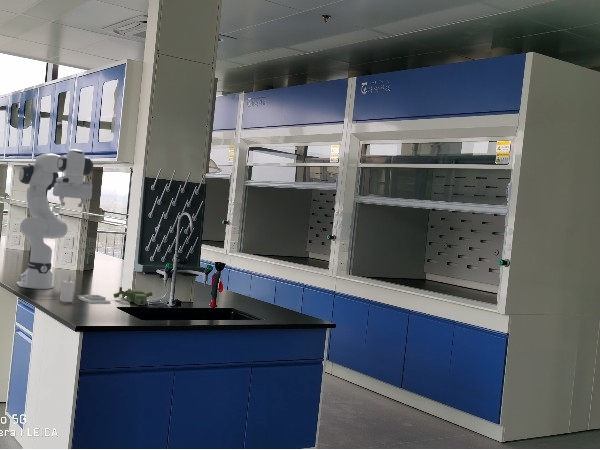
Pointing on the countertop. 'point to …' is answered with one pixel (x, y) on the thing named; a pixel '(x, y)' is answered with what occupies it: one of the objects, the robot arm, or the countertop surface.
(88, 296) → the outlet plate
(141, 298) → the toy
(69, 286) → the charger
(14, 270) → the countertop surface
